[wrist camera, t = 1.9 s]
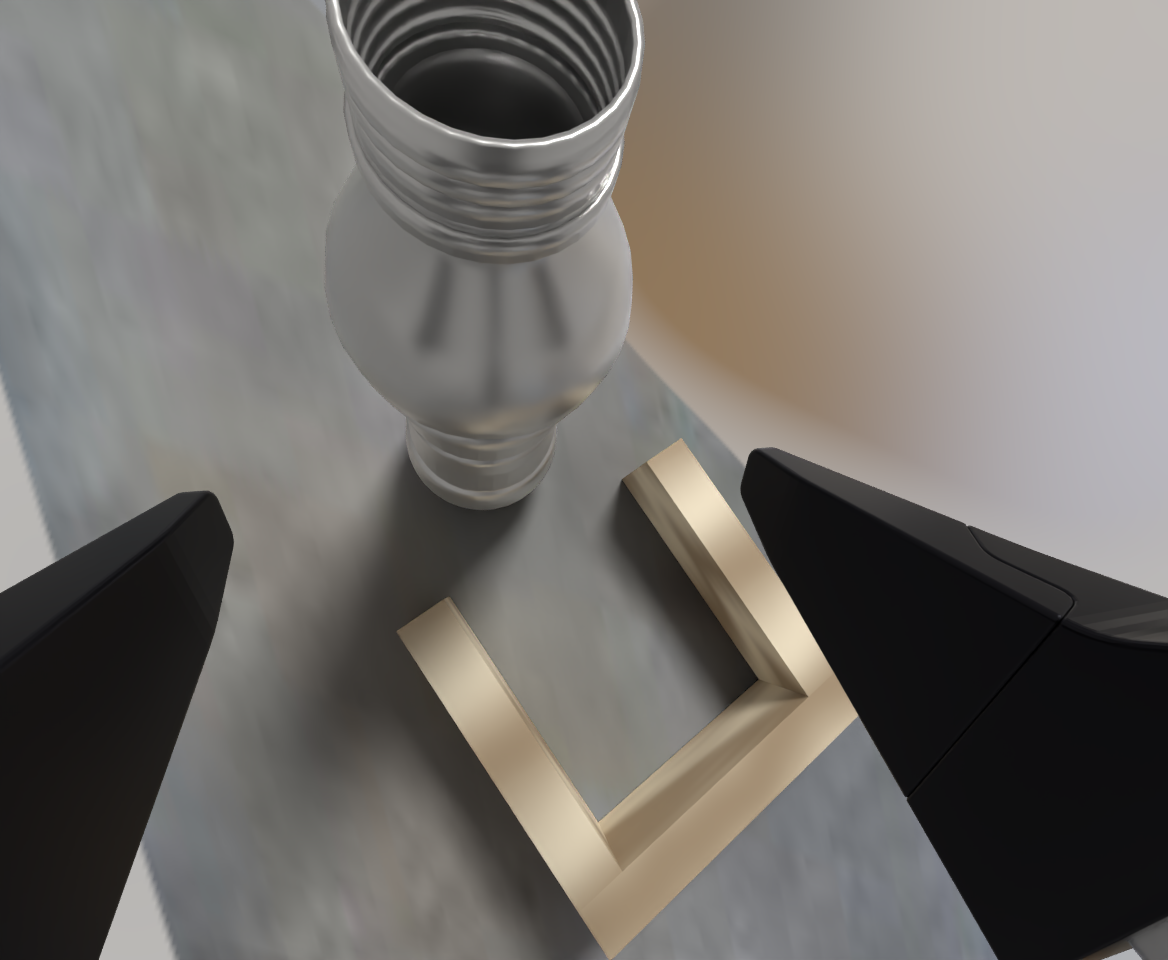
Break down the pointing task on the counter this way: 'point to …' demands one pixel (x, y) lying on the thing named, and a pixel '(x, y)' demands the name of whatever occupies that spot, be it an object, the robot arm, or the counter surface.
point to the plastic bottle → (483, 223)
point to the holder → (699, 769)
